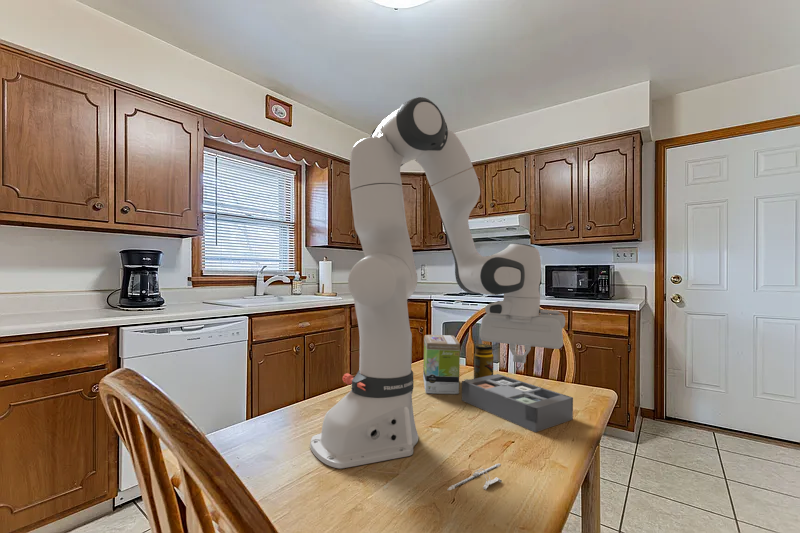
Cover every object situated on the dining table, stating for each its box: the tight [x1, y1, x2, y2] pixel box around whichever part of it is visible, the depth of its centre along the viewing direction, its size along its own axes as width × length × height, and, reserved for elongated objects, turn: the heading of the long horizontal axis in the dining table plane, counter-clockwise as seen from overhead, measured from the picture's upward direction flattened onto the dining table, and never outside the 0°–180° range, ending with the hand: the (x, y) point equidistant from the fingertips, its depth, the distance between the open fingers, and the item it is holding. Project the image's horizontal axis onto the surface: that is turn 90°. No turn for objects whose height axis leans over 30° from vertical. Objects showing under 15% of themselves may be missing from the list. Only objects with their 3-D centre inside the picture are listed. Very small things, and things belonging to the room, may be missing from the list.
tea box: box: [422, 334, 461, 395], centre depth 119 cm, size 15×10×15 cm
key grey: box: [494, 380, 515, 388], centre depth 108 cm, size 4×4×2 cm
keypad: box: [461, 373, 574, 433], centre depth 101 cm, size 14×24×5 cm, turn 33°
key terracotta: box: [477, 384, 494, 389], centre depth 104 cm, size 4×4×2 cm
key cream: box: [515, 386, 534, 398], centre depth 103 cm, size 4×4×2 cm
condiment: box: [463, 343, 494, 381], centre depth 123 cm, size 7×8×12 cm
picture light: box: [447, 463, 503, 491], centre depth 67 cm, size 14×4×2 cm, turn 128°
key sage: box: [516, 397, 537, 404], centre depth 93 cm, size 4×4×2 cm
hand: (519, 362), depth 100 cm, fingers closed
